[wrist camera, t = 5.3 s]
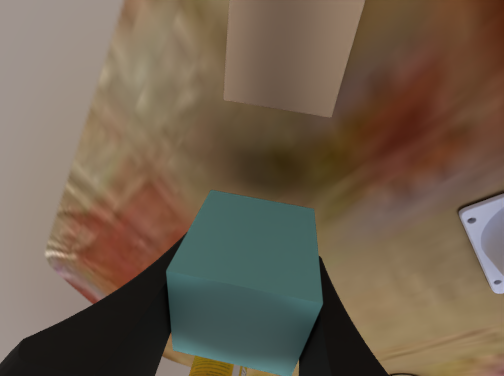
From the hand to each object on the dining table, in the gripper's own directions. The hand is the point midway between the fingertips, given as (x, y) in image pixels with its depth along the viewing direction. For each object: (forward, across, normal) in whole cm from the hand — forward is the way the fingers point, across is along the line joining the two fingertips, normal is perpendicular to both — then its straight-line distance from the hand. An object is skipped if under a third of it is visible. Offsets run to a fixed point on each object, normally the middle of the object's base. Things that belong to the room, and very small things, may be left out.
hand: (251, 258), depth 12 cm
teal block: (+1, 0, 0) cm, 1 cm away
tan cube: (+8, 0, -9) cm, 12 cm away
